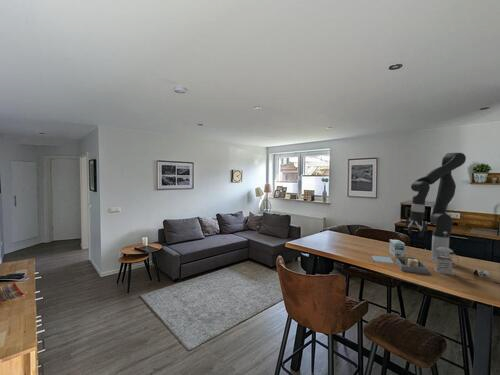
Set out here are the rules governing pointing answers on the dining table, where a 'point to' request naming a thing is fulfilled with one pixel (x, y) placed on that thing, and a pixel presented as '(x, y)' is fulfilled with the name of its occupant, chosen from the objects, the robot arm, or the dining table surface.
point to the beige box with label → (412, 262)
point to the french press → (442, 262)
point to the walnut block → (407, 258)
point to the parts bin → (403, 267)
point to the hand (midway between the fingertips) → (415, 234)
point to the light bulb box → (397, 248)
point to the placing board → (382, 259)
